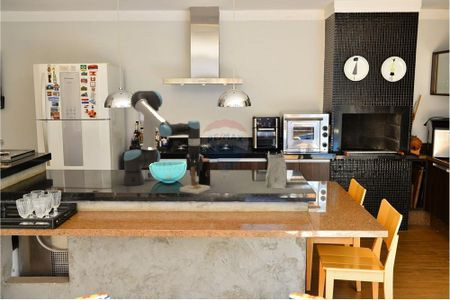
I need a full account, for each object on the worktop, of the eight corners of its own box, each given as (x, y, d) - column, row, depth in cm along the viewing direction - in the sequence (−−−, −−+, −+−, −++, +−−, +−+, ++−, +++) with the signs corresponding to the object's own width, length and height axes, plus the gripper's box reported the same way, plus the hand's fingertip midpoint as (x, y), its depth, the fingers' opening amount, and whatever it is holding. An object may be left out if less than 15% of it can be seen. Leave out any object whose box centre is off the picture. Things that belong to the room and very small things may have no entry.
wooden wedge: (191, 185, 284) (190, 167, 283) (195, 184, 288) (195, 166, 287) (194, 185, 283) (194, 167, 282) (198, 184, 287) (198, 166, 285)
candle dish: (179, 191, 284) (179, 187, 284) (192, 187, 296) (192, 183, 295) (197, 194, 277) (197, 189, 276) (209, 189, 288) (209, 185, 288)
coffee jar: (208, 187, 296) (208, 160, 294) (193, 186, 298) (192, 160, 296) (211, 184, 306) (211, 158, 304) (197, 183, 309) (196, 158, 306)
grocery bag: (265, 178, 325) (265, 147, 322) (284, 178, 324) (284, 147, 321) (265, 187, 293) (266, 153, 290) (286, 188, 292) (287, 153, 289)
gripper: (180, 144, 283) (181, 180, 286) (200, 146, 275) (201, 183, 278) (187, 143, 290) (188, 178, 293) (207, 145, 281) (208, 181, 284)
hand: (194, 180), depth 285 cm, fingers closed on wooden wedge, 3 cm apart
